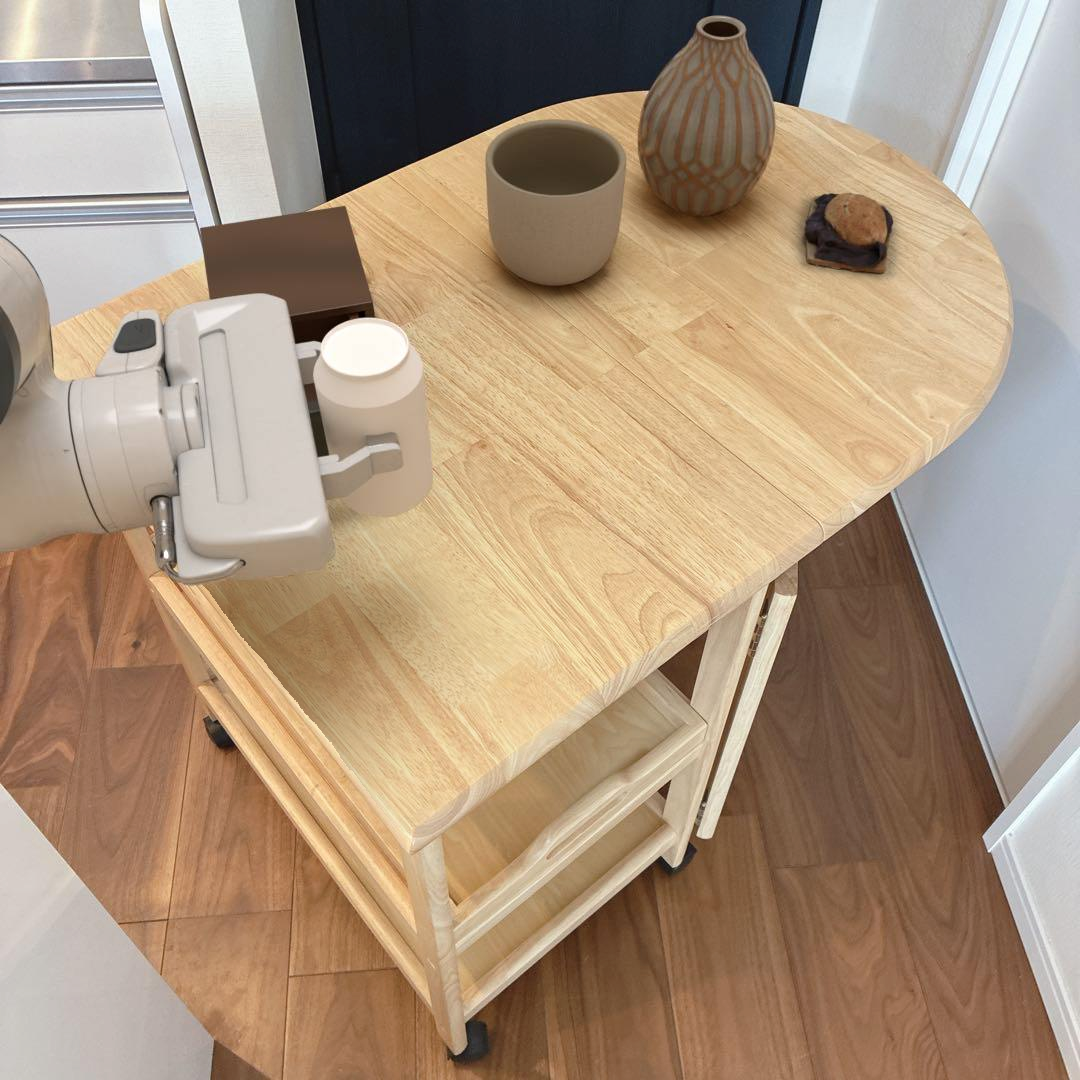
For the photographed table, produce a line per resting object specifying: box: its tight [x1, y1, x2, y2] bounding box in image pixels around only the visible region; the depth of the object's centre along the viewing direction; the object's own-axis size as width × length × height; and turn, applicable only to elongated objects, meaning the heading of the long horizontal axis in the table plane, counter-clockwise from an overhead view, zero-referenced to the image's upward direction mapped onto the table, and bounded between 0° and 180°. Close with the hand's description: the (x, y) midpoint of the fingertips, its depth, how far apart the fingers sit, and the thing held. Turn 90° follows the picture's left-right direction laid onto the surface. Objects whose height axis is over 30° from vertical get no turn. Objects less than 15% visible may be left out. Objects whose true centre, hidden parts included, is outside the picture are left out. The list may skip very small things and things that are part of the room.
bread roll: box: [804, 192, 894, 274], centre depth 103 cm, size 11×8×4 cm
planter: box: [484, 118, 627, 287], centre depth 97 cm, size 12×12×11 cm
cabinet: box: [199, 205, 376, 323], centre depth 91 cm, size 14×13×8 cm
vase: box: [636, 15, 776, 217], centre depth 101 cm, size 13×13×18 cm
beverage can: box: [313, 317, 434, 518], centre depth 63 cm, size 6×6×12 cm
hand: (388, 404), depth 63 cm, fingers closed on beverage can, 6 cm apart
